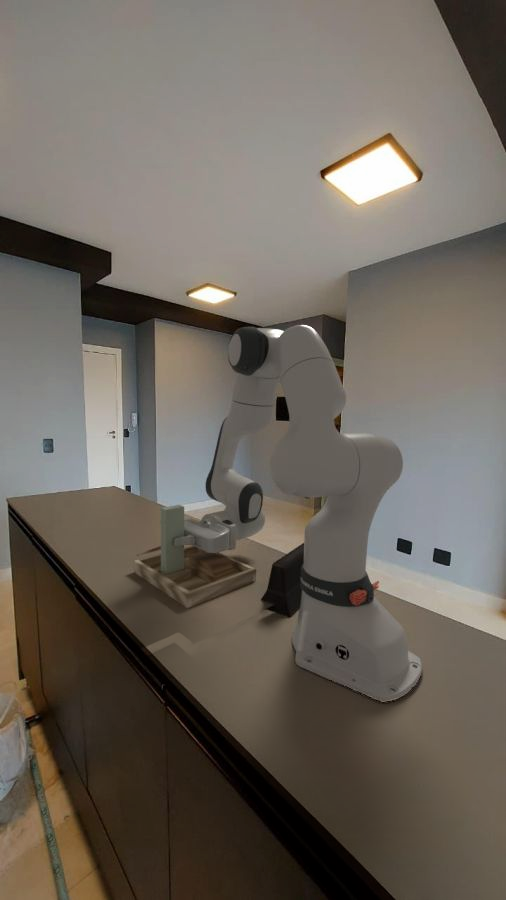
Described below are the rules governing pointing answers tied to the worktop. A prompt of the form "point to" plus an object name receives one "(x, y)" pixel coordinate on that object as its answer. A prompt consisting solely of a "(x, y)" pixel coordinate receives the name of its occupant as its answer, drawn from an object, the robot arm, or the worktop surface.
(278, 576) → the barrier
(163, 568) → the sage green plank
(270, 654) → the worktop surface
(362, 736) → the worktop surface
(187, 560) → the offcut stack
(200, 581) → the beige wooden tray
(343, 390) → the robot arm
